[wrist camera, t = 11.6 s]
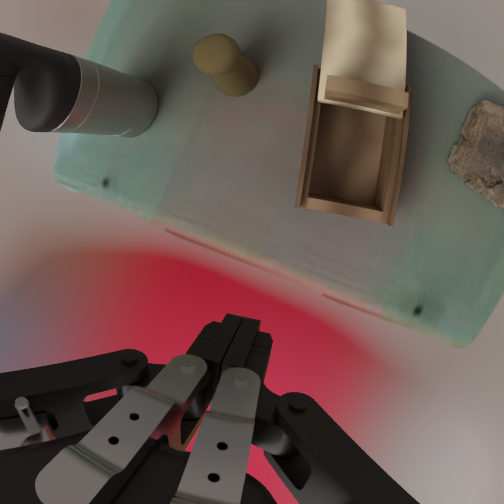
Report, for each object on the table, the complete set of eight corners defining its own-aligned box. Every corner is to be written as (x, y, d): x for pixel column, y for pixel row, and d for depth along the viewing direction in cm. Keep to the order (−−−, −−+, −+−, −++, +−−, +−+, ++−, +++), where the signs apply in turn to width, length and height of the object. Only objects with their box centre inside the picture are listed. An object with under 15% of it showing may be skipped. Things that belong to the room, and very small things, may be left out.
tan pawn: (265, 86, 36) (248, 59, 26) (224, 103, 38) (195, 84, 27) (248, 51, 35) (227, 18, 25) (209, 68, 37) (177, 42, 26)
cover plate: (317, 101, 29) (317, 90, 25) (327, -4, 25) (328, -26, 20) (400, 119, 28) (414, 111, 23) (403, 12, 23) (414, -6, 19)
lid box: (298, 199, 40) (294, 207, 32) (314, 83, 35) (313, 64, 27) (378, 215, 38) (392, 226, 30) (394, 100, 33) (411, 86, 26)
